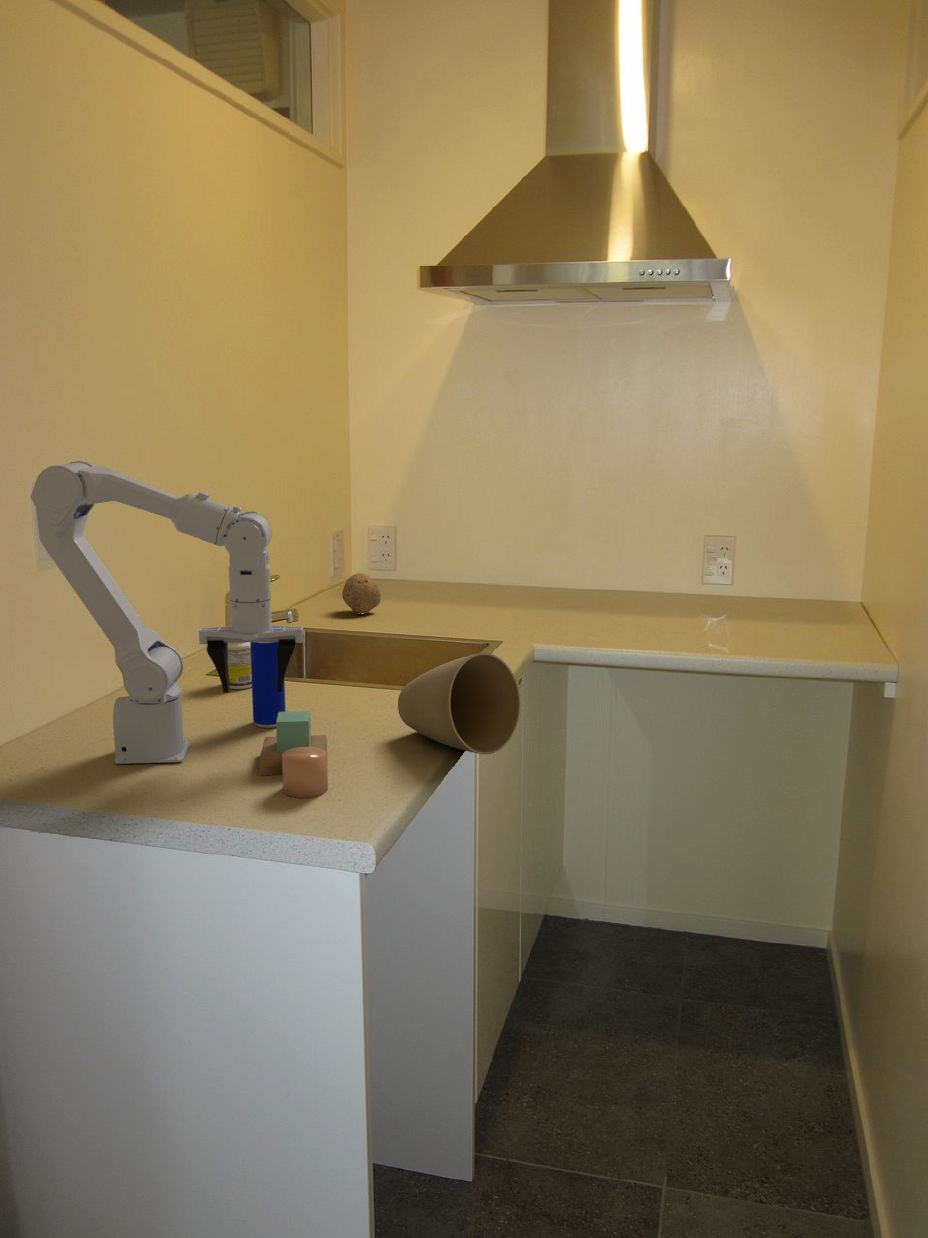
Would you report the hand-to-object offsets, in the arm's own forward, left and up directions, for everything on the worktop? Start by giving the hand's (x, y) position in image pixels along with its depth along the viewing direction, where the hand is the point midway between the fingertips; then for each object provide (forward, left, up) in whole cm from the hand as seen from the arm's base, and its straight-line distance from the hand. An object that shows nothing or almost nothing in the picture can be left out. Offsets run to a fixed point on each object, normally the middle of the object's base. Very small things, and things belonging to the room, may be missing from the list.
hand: (253, 690), depth 147 cm
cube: (+6, -4, -7) cm, 10 cm away
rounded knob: (+8, -14, -10) cm, 19 cm away
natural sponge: (+16, +94, -10) cm, 96 cm away
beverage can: (+1, +14, -10) cm, 17 cm away
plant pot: (+24, +10, -6) cm, 26 cm away
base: (+6, -4, -10) cm, 12 cm away
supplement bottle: (-6, +36, -10) cm, 38 cm away
